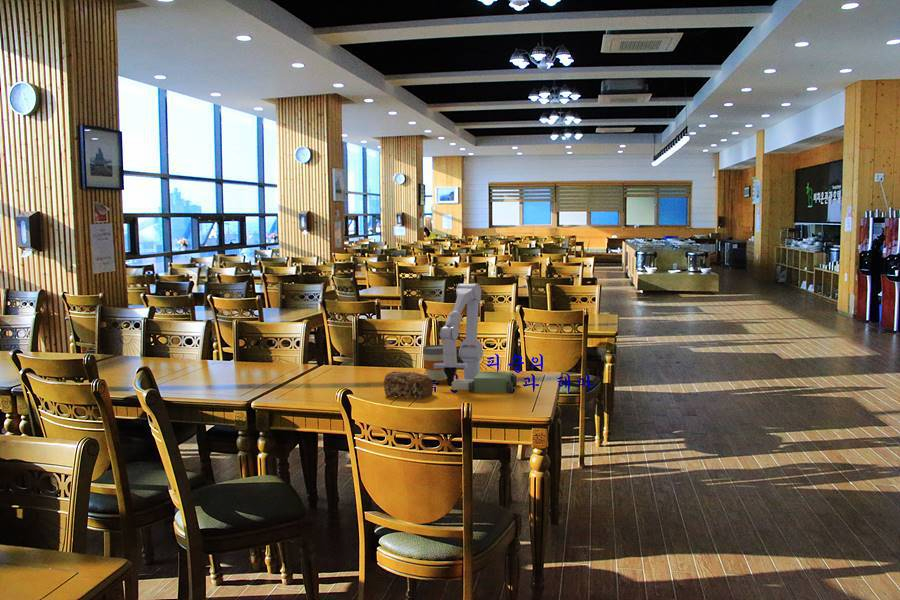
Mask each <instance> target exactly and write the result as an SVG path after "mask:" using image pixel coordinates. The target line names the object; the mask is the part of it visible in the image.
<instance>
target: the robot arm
mask: <svg viewBox="0 0 900 600" xmlns="http://www.w3.org/2000/svg"><path fill="white" fill-rule="evenodd" d="M455 290H456V291H455V294H456V300H455V304H454V305H453V306H454V307H453V310H452V311H450V312H449V314H448V317H447V320H446V322H445V324H444V326H443V327H440V331H439V336H440V339H441V343H442V345H443V358H444V363H435V364H434V369H436V368H444V372H445V374H446V376H447V381H448V384H449V386H452V382H453V381H454V380H455V375H456V373H457V370H458V369H463V379H462V380H474V377H475V375H477V374H478V373H479V372H481V363H480V361H481V360H482V359H483V356H484V350H483V344H482V342H480V340H478V325H479V323H478V321H479V307H480V306H479V305H480V302H481V300H482V288H481V285H480V284H479V283H458V284H457V286H456V289H455ZM466 305H467V306H466ZM465 306H466V322H465V338H464V340H462V342H460V347H459V350H458V357H459V358H460V360H461V361H462V362H463V363H462V362H458V359H457V339H458V337H459V331H460V328H459V326H460V324H461V321H462V318H463V316H462V312H463V310H464V308H465Z"/></svg>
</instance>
